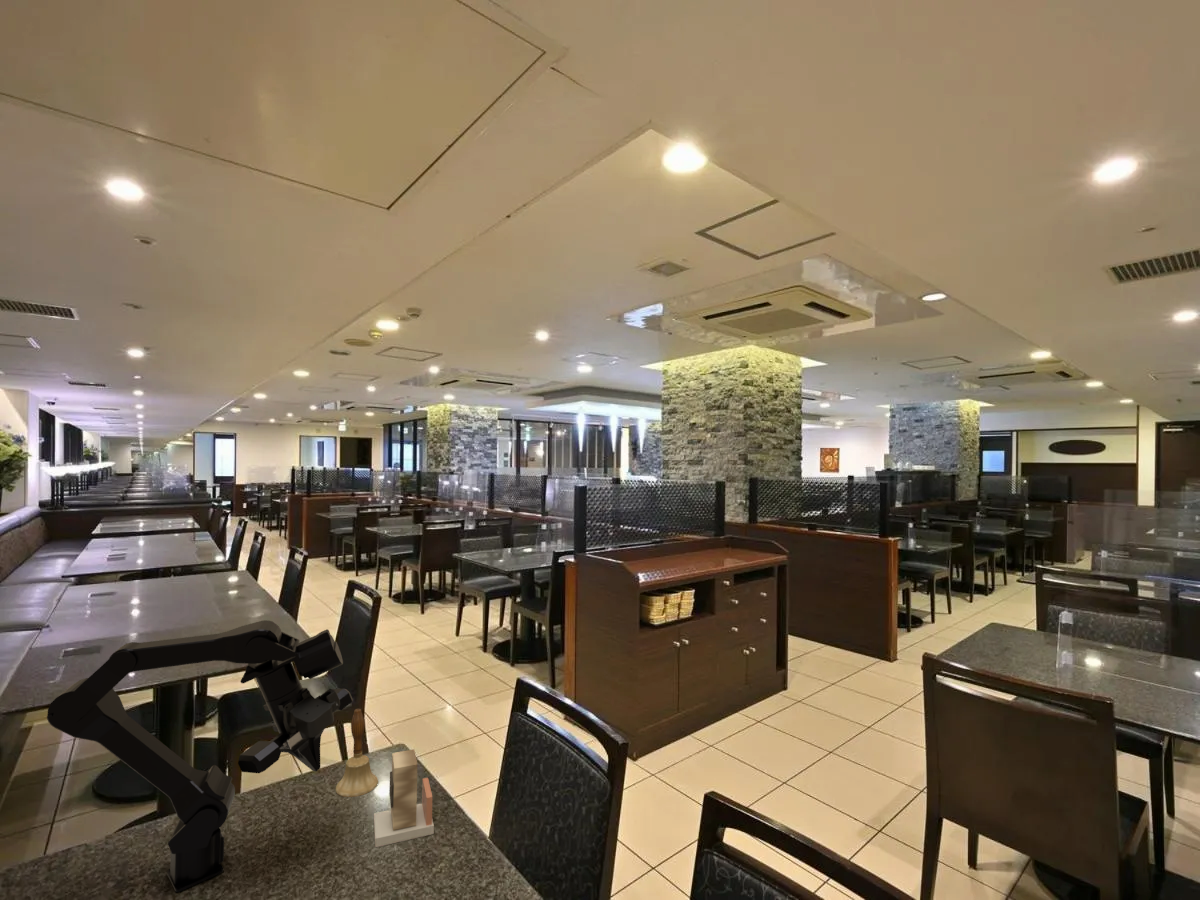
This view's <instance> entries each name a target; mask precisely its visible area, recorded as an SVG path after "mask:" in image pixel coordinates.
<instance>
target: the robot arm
mask: <svg viewBox="0 0 1200 900" xmlns="http://www.w3.org/2000/svg"><path fill="white" fill-rule="evenodd" d="M214 661H215V662H227V663H232V664H247V665H246V667H245V671H244V674H243V675H242V677H241V679H240V683H241V684H245V683H248V682H250V681H253V680H255V682H256V684H257V685H258V688H259V690H260V692H261V695H262V696H263V700H264V701H265V704H264V705H262V707H263V708H264V710H265V712H267V711H269V712H270V713H269V714H270V715H271V717H272V720H273V722H274V724H273V725H272V726H271V727H272V730H273V731H274V732H276V733H279V734H277V735H276V736H275V737H273V738H272V739H271V740H270V741H269V740H267V741H266V740H258V741H257V742H255V743H254V744H252V745H251V746H250V747H248V748H247V749H246V750H244V751H243V752H242V753H240V754H239V757H238V762H237V764H238V767H239V769H240V771H241V773H251V774H261V773H263V772H265V771H266V770H268V769H269V768H270V767H272V766H273V765H274V764H275V763H276V762H278V761H279V760H280V757H281V754H282V753H285V754H286V753H288V754H289V755H291V756H292V757H295V758H296V759H297V760H299V762H301V763H302V764H304V765H305V766H306V767H307V768H309V770H311V771H312V772H318V771H319V770H320V769H321V739H322V735H323V733H324V731H325V729H326V728H327V727H329V726H331V725H333V723H334V722H335V716H334V713H335V712H336V711H342V710H344V709H345V708H346V707H347V706H349V705H350V704H351V703H353V700H354V698H353V696H352V694H351V692H350V691H349V690H348V689H346V688H329V689H327V690H326V691H324V692H323V693H322V694H319V695H318V696H316V697H315V696H314V695H312V694H311V691H310V690H309V689H308V687H303V685H302V684H301V681H300V679H299V677H298V674H299V676H300V678H304V679H309V680H312V679H314V678H317V677H318V676H321V675H322V674H326V673H328V672H329V671H332V670H333V669H336V668H338V667H339V666H342V665H343V664H344V660H343V657H342V653H341V649H340V647H339V644H338V642H337V641H335V639H334V637H333V635H331V632H330V630H329V629H324V630H322V631H320V632H319V633H317V634H316V635H314V636H312V637H311V636H310V637H309V638H307V639H304V640H302V641H300V639H298V638H296V637H294V636H292V635H290V634H288V633H286V632H283V631H282V629H281V628H280V626H279V625H277V623H275V622H274V621H272V620H268V619H267V620H259V621H255V622H252V623H249V624H244V625H241V626H238V627H236V628H232V629H230V630H227V631H224V632H219V633H213V634H212V633H211V634H205V635H204V634H203V635H195V636H188V637H187V636H185V637H178V638H177V637H176V638H168V639H162V640H161V639H160V640H154V641H153V640H151V641H145V642H144V641H143V642H137V641H136V642H135V641H132V642H128V643H126V644H123V645H122V646H120V647H119V648H118V649H117V650H115V651H114V652H113V653H112V654H111V655H110V656H109V658H108V660H106V661H105V662H104V663H103V664H102V665H101V666H100V667H99V668H98V669H96V670H95V671H94V673H92V674H91V675H90V676H89V677H86V678H83V679H79V680H78V681H76V682H74V683H73V684H71V685H70V686H69V687H68V688H67V689H65V690H63V692H61V693H60V694H59V695H58V696H56V697H55V699H53V700H52V701H51V703H50V705H49V707H48V708H47V715H46V721H47V722H48V723H49V725H50V726H52V727H53V728H54V729H56V730H59V731H60V732H62V733H64V734H66V735H68V736H71V737H72V738H75V739H80V740H86V741H91V742H95V743H98V744H100V746H102V747H103V748H105V749H106V750H107V751H108V752H109V753H111V754H112V755H114V756H115V757H117V759H119V760H120V761H121V762H123V763H124V764H125V765H126V766H128V767H129V768H130V769H132V770H133V771H134V772H136V773H137V774H138V775H139V776H140V777H142V778H143V779H145V780H146V781H147V782H148V783H150V784H151V785H153V787H155V788H156V789H158V790H159V791H160V792H161V793H163V794H164V795H165V796H166V797H168V798H169V800H170V802H171V804H172V807H173V809H174V812H175V814H176V816H177V818H178V819H179V820H178V822H177V824H176V825H175V828H174V830H173V832H172V835H171V836H170V838H169V840H168V842H167V845H168V847H169V850H170V863H169V864H170V866H169V867H170V868H169V869H168V870H167V871H166V875H167V877H168V879H169V881H170V883H171V886H172V887H173V889H174V892H175V893H179V892H182V891H185V890H187V889H189V888H191V887H193V886H195V885H198V884H200V883H202V882H204V881H206V880H208V879H211V878H213V877H215V876H218V875H221V874H222V873H223V872H224V867H223V865H222V863H223V862H224V859H225V858H224V857H225V836H224V835H223V833H221V832H222V830H221V827H222V826H223V824H224V823H225V822H226V820H227V819H228V816H229V815H228V814H229V812H230V810H231V807H232V805H233V801H234V800H235V799H234V798H235V795H236V794H235V792H236V788H235V785H234V784H233V783H232V781H233V777H232V776H231V775H227V774H226V773H224V772H222V770H221V769H220V768H219V766H217V765H216V764H213V765H212V766H211V767H210V768H209V769H208V770H207V771H206V770H201V769H196V768H195V767H193V766H192V765H191V764H189V763H188V762H187V761H185V760H184V759H183V758H181V756H180V755H178V754H177V753H176V752H174V750H171V748H169V747H168V746H167V745H165V744H164V743H163V742H162V741H161V740H159V739H158V738H157V737H155V736H154V735H153V734H152V733H150V732H149V731H148V730H147V729H145V728H144V727H143V726H142V725H140V723H138V721H135V719H133V718H132V717H130V715H128V714H127V712H126V709H125V707H124V705H123V702H122V699H121V698H120V695H119V694H118V693H117V692H116V691H115V689H113V688H115V686H117V685H118V684H119V683H120V682H121V681H122V680H123V679H124V678H126V676H127V675H128V674H130V673H134V672H139V671H147V670H155V669H163V668H170V667H178V666H185V665H192V664H193V665H194V664H200V663H207V662H214ZM292 662H293V663H294V665H295V667H294V665H293V663H292ZM295 668H296V669H295ZM297 672H298V674H297Z"/></svg>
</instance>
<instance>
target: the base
mask: <svg viewBox="0 0 1200 900" xmlns="http://www.w3.org/2000/svg"><path fill="white" fill-rule="evenodd" d="M421 789H422V790H421V792H422V793H421V794H422V795H421V796H422V797H421V803H417V810H416V825H415V826H410V827H406V828H401V829H397V830H393V825H392V816H391V809H387V810H384V811H379V812H374V813H373V829H374V833H373V834H374V847H375V848H377V847H379V848H380V847H383V846H389V845H391V844H395V843H400V842H404V841H405V842H406V841H409V840H414V839H417V838H423V837H425V836H426V837H427V836H430V835H434V833H435V832H434V831H435V824H434V820H433V793H432V789H431V785H430V781H429V777H424V778H422V788H421Z"/></svg>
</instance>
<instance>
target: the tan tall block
mask: <svg viewBox="0 0 1200 900" xmlns="http://www.w3.org/2000/svg"><path fill="white" fill-rule="evenodd" d="M391 755H392V756H391V771H389V790H388V791H389V793H388V794H389V802H390V803H389V804H390V810H391V816H392V825H393V830H397V829H401V828H406V827H410V826H415V825H416V810H417V804H418V803H417V802H418V799H417V798H418V761H417V756H416V755H417V754H416V752H415V748H414V749H408V750H401V751H397V752H392V754H391Z"/></svg>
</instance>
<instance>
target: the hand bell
mask: <svg viewBox="0 0 1200 900" xmlns="http://www.w3.org/2000/svg"><path fill="white" fill-rule="evenodd" d="M350 731H351V735H352V738H353V739H352V740H353V749H352V750H353V752H352V754H353V756H352V757H350V758H348V759H347V760H346V763H345V768H344V774H343V776H342V778H341V779H340V781H338V783H337V784H336V786H335V793H336V794H337V795H338V796H340V797H344V798H355V797H360V796H363V795H366V794H368V793H370V792H372V791H374V789H376V788H377V787H378V785H377V784H379V779H378V777H377V776H376V774H374V773H373V772H372V769H371V765H370V759H369V756H367V755H363V748H362V747H363V743H362V741H363V739H362V738H363V735H364V731H365V717H364V715H363V712H362V709H361V708H355V709H354V712H353V715H352V719H351V723H350Z"/></svg>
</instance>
